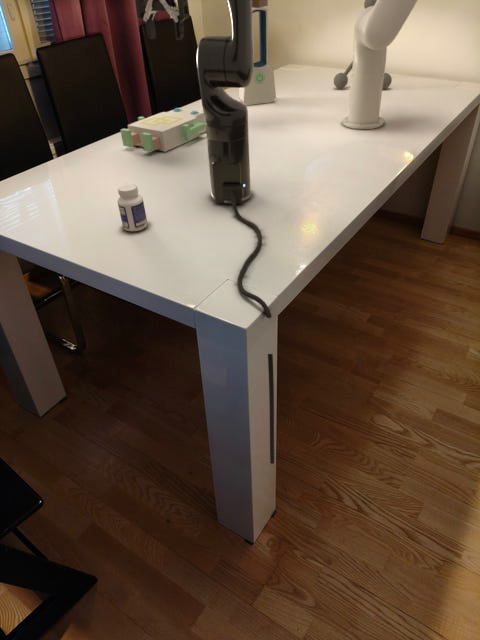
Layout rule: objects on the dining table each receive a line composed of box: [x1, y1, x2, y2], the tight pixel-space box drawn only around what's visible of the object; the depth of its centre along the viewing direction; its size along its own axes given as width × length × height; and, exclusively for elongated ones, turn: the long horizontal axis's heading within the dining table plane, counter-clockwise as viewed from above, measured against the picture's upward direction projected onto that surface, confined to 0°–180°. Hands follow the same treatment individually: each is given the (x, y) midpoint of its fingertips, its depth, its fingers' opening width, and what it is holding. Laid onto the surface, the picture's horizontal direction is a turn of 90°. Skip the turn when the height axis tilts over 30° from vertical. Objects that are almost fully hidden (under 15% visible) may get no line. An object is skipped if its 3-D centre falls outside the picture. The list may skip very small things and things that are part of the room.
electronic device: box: [238, 7, 277, 106], centre depth 173 cm, size 12×8×30 cm, turn 105°
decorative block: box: [120, 107, 206, 153], centre depth 149 cm, size 26×6×20 cm
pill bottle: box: [117, 182, 148, 232], centre depth 102 cm, size 5×5×9 cm
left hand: (165, 39), depth 122 cm, fingers open, 8 cm apart
